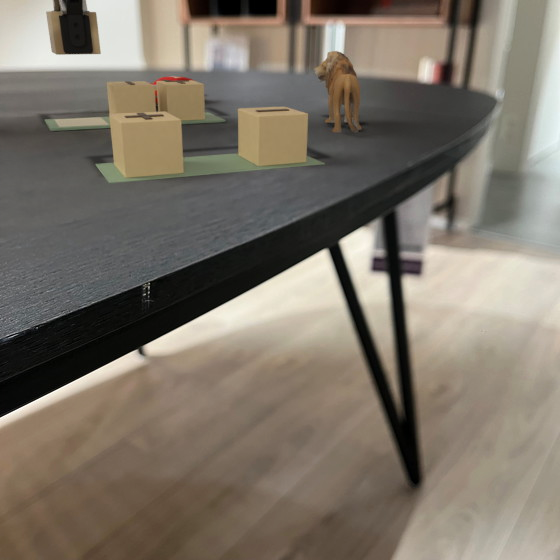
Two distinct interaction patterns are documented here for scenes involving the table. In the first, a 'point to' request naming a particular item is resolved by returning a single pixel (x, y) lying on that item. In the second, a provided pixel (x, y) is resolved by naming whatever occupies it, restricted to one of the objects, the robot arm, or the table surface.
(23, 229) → the table surface
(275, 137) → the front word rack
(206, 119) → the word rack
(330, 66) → the lion figurine
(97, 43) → the small cardboard box
